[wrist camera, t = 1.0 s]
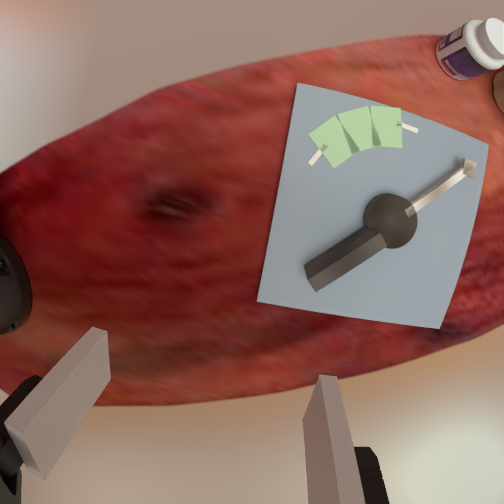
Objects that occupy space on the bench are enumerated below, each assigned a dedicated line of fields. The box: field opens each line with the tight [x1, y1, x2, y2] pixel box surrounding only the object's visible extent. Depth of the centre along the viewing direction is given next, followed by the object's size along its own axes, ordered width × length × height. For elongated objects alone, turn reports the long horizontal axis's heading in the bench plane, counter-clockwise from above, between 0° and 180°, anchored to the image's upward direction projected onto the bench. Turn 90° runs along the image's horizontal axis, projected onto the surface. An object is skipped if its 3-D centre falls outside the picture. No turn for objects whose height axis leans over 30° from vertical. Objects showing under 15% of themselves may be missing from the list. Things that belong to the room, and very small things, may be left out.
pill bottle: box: [436, 18, 504, 80], centre depth 21 cm, size 5×5×10 cm
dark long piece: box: [304, 158, 477, 292], centre depth 28 cm, size 21×5×4 cm, turn 125°
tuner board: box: [257, 83, 489, 329], centre depth 31 cm, size 22×22×2 cm
